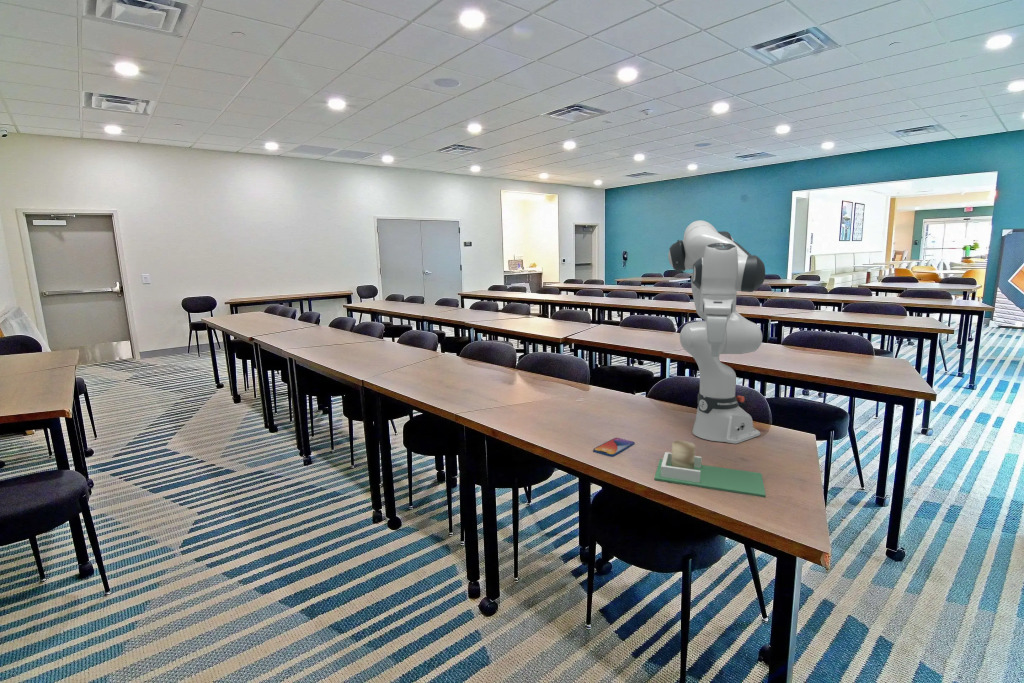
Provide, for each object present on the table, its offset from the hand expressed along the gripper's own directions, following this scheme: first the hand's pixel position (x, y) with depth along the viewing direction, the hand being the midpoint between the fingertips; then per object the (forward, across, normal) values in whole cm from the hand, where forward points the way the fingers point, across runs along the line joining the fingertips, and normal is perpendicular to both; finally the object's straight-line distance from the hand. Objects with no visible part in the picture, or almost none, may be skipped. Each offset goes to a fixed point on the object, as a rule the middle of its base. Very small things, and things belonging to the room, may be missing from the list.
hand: (714, 356), depth 134 cm
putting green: (+33, +4, 0) cm, 33 cm away
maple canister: (+32, +4, -7) cm, 33 cm away
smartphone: (+34, -9, -28) cm, 45 cm away
